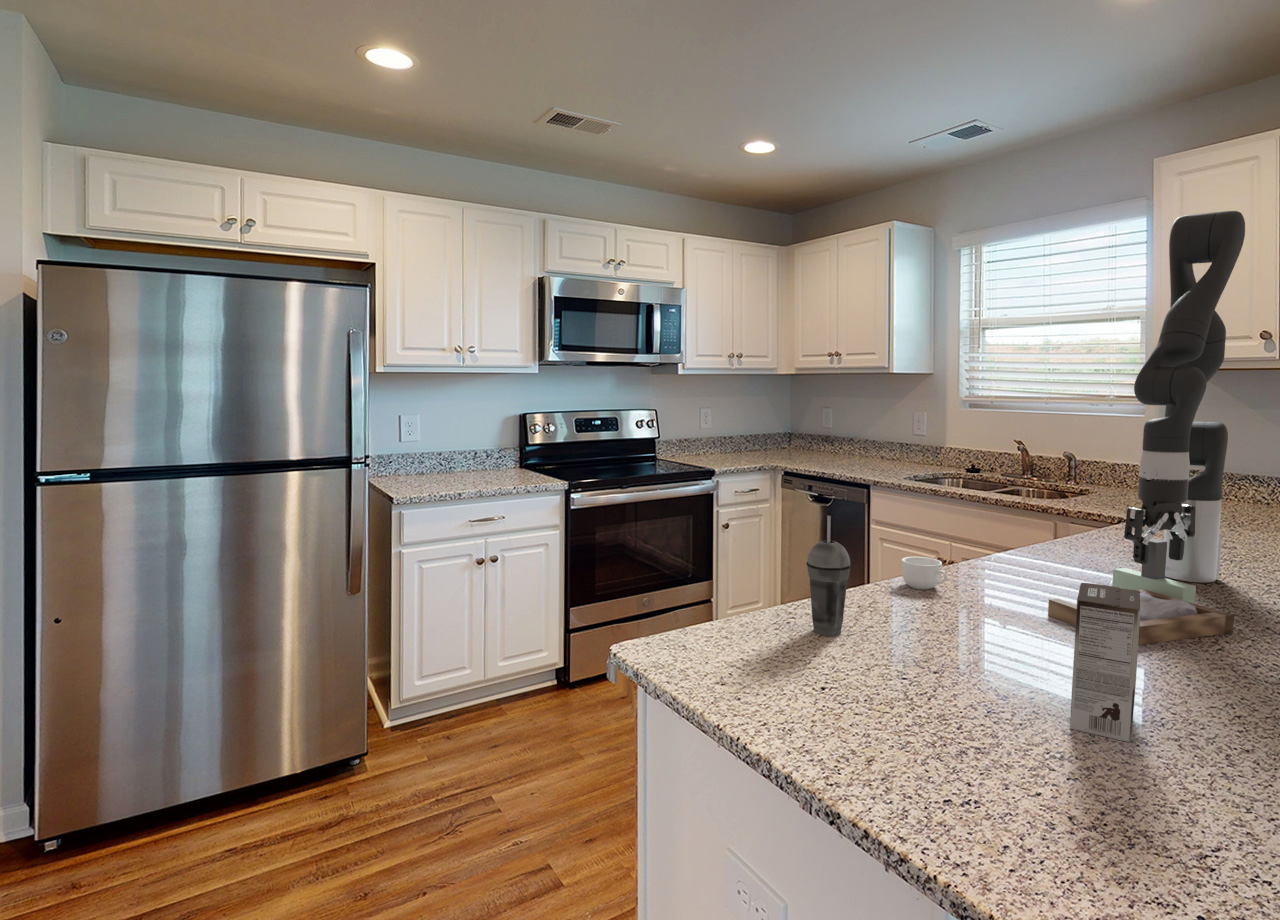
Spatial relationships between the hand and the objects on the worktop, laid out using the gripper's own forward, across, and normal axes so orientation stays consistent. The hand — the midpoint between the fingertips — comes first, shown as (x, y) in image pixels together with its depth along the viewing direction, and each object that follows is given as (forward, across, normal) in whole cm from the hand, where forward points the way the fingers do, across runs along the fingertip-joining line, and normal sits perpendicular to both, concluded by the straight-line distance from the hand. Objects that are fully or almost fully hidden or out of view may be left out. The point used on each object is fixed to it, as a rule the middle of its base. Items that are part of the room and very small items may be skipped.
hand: (1158, 561), depth 136 cm
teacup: (+8, +34, -22) cm, 41 cm away
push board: (+8, 0, -1) cm, 8 cm away
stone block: (+9, +10, +6) cm, 15 cm away
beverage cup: (+8, +67, -4) cm, 68 cm away
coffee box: (+8, +52, +35) cm, 63 cm away
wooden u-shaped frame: (+8, +14, +7) cm, 18 cm away
